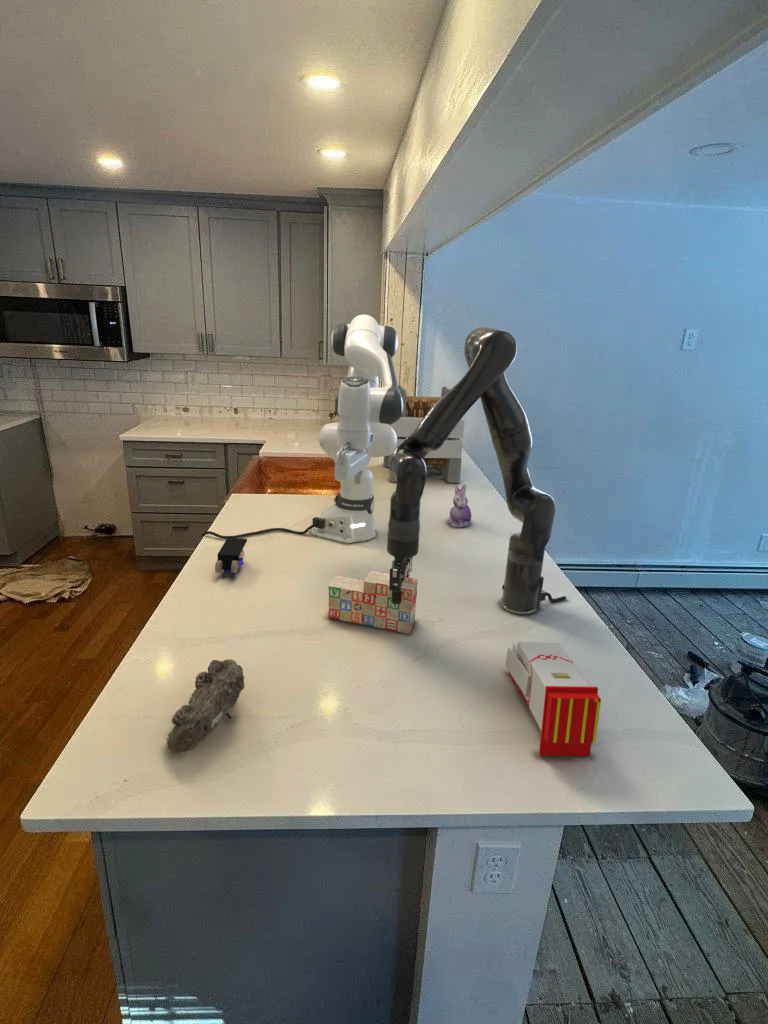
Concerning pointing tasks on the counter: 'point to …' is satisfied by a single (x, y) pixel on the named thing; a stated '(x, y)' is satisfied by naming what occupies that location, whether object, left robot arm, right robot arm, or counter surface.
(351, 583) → the stack of blocks
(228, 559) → the black wheeled block
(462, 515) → the figurine
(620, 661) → the counter surface
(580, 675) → the toy
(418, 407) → the grey storage crate
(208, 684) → the fossil
